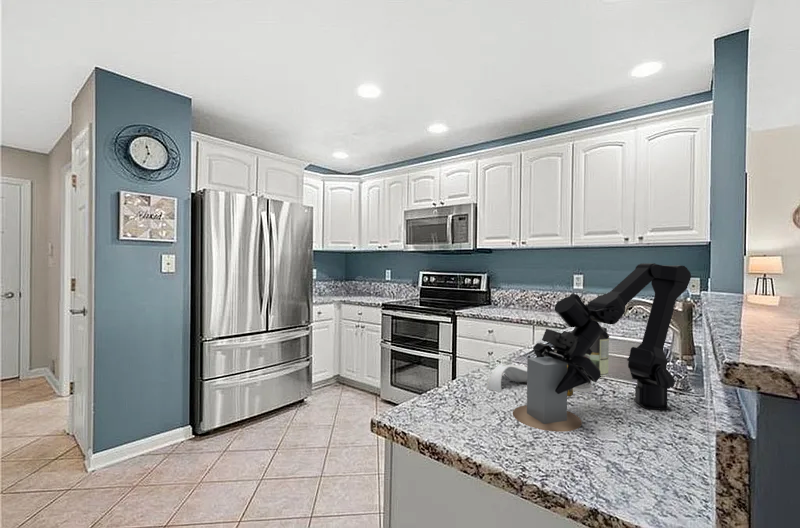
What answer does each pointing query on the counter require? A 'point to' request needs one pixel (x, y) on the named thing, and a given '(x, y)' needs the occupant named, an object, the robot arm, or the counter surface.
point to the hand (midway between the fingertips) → (544, 386)
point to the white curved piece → (510, 371)
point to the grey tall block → (546, 389)
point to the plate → (569, 425)
